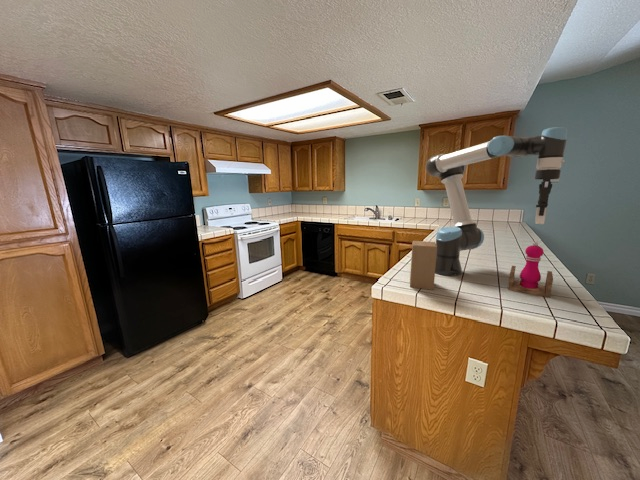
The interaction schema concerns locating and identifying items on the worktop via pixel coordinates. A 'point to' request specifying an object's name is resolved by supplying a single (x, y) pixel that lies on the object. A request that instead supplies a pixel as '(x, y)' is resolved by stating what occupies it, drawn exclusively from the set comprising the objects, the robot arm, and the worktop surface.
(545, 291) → the holder
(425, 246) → the wooden block
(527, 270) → the pepper mill
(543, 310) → the worktop surface
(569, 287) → the worktop surface
